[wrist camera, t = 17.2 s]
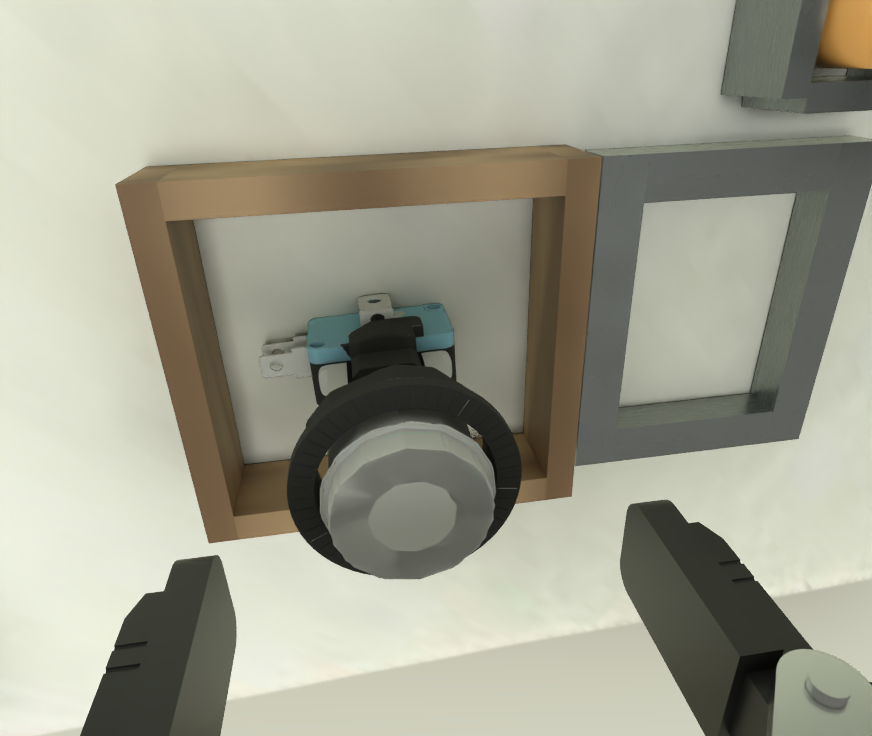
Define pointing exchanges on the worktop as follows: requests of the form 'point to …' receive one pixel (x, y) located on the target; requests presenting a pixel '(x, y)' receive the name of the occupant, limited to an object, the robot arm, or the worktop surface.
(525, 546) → the worktop surface
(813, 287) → the socket block
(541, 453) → the wooden square frame
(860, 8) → the plunger
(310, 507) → the push button
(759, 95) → the plunger collar
